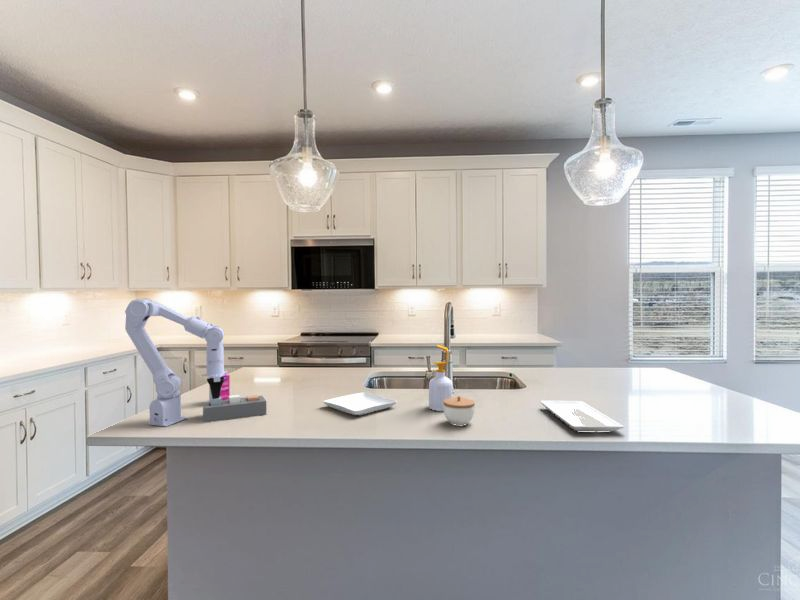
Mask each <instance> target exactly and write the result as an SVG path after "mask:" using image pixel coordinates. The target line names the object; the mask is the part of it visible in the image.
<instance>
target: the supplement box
mask: <svg viewBox="0 0 800 600" xmlns="http://www.w3.org/2000/svg"><path fill="white" fill-rule="evenodd" d="M222 377H224V382H223V384H222V387H221V391H220V396H219V397H221V399H222V400H227V399H229V396H230V393H231V392H230V388H231V387H230V385H231V384H230V382H231V380H230V377H231V376H230V375H229V374H224V375H223V376H222ZM209 378H211V377H209ZM208 385H209V384H208ZM208 392H209V393H208V394H209V396H208V398H209V399H208V400H209V401H210V398H212V394H211V389H210V385H209V391H208ZM209 401H208V402H209Z"/></svg>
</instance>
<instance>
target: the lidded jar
mask: <svg viewBox="0 0 800 600" xmlns="http://www.w3.org/2000/svg"><path fill="white" fill-rule="evenodd" d="M443 404H444V411H443V413H444V416H445V418H446V420H447V421H448V423H449V424H450V423H452V424H456V425H464V424H467V423H468V424H469V423H470V422H471V421H472V419H473V417H474V413H475V404H476V402H475V401H474V400H473V399H472V398H468V397H461V396H460V395H458V396H455V397H454V396H452V398H447V399H445V400H444V401H443ZM468 424H467V425H468Z"/></svg>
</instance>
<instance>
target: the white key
mask: <svg viewBox="0 0 800 600" xmlns="http://www.w3.org/2000/svg"><path fill="white" fill-rule="evenodd" d="M240 398H241V395H240V394H233V395H229V404H232V403H240Z"/></svg>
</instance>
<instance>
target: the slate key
mask: <svg viewBox="0 0 800 600" xmlns="http://www.w3.org/2000/svg"><path fill="white" fill-rule="evenodd" d="M214 405H222V399H221V397H219V398H216V399H213V398H210V406H214Z"/></svg>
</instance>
